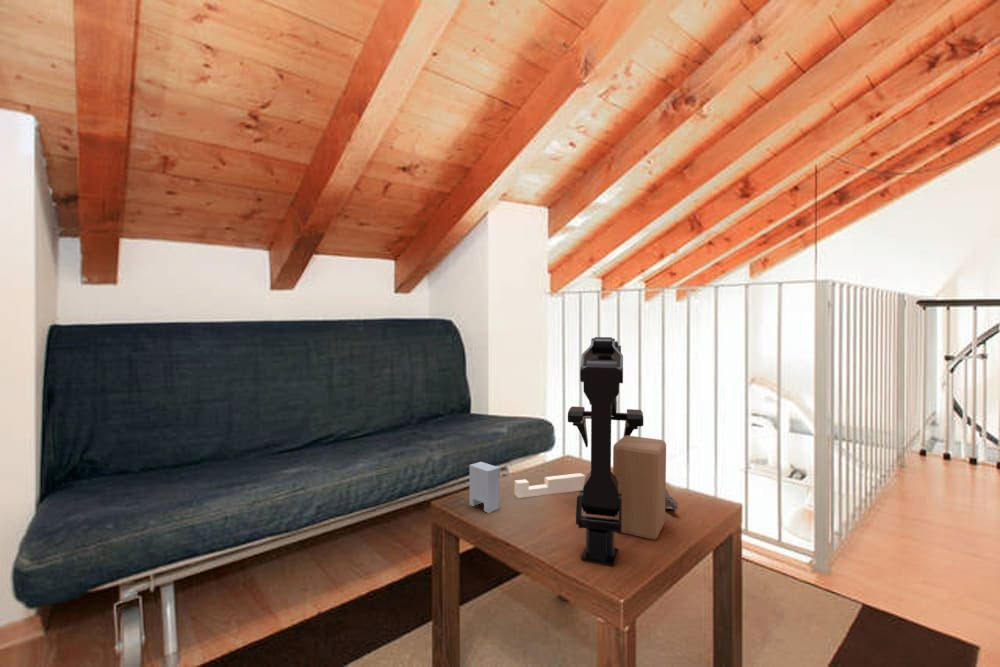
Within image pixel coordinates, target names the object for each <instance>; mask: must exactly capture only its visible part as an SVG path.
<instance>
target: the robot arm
mask: <svg viewBox="0 0 1000 667" xmlns="http://www.w3.org/2000/svg"><path fill="white" fill-rule="evenodd" d="M579 380H580V383H581V382H582V383H583V384H582V385H583V394H584V395H585V396H586V398H587V400H588V402H589V403H588V404H589V405H590V407H591V408H590V410H591V411H589V410H585V406H570V407H569V409H568V412H567V422H568V423H572V426H574V427H577V430H578V431H579V433H580V434H581V437H582V441H583V443H584V445H585V448H588V447H589V439H588V430H587V420H588V419H589V420H590V471H589V472H588V473H587V475H585V481H584V487H583V490H581V491H580V492H579V494H578V496H577V497H576V509H575V524H576V525H577V526H578V529H585V547H584V549H583V551H582V553H581V556H580V560H581V561H586V562H590V563H596V564H600V565H606V566H611V567H614V566H615V563H616V561H617V557H618V554H619V548H617V547H615V545H616V544H615V540H616V539H615V537H616V536H615V535H616V534H615V533H620V534H622V532H621V522H622V494H619V493H618V482H617V478H616V476H615V475H613V471H612V421H625V422H624V423H625V424H624V428H623V429H624V430H623V437H624V436H627V435H628V436H632V435H631V434H632V433H633V432H634V430H638V429H639V428H638V427H644V413H643V411H642V410H641V409H628V408H626V412H617V410H618V400H617V399H618V396H619V394H620V384H624V355H623V354H622V345H619V341H617V340H616V339H615V338H613V337H610V336H609V337H606V336H605V337H602V336H598V337H597V336H594V337H591V340H590V345H589V347H588V348H586V350H584V352H582V354H581V358H580V368H579ZM623 437H622V438H623ZM584 512H585V515H584ZM618 512H619V520H617V519H613V517H615V515H617V514H618ZM587 515H593V516H587ZM597 516H602V517H597ZM604 517H612V518H604Z"/></svg>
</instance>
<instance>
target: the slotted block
mask: <svg viewBox="0 0 1000 667" xmlns="http://www.w3.org/2000/svg"><path fill="white" fill-rule="evenodd" d="M468 467H469V506H470V505H472V506H475V505H477V506H479V505H478V504H480V505H482V504H481V503H483V512H484V511H485V512H487V513H486V514H490V513H492V511H493V512H495V511H497V509H498V510H499V509H500V467H499V466H496V465H492V464H489V463H486V462H483V461H479V462H476V463H472V464H469V466H468ZM472 506H471V507H472ZM475 507H476V506H475ZM494 510H495V511H494ZM485 512H484V513H485Z"/></svg>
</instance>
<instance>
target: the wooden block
mask: <svg viewBox="0 0 1000 667" xmlns="http://www.w3.org/2000/svg"><path fill="white" fill-rule="evenodd" d="M623 436H624V435H623ZM612 450H613V451H612V453H613V454H612V457H613V458H612V473H613V475H615V476H616V478H617V482H618V493H619V494H622V522H621V533H623V534H629V535H631V536H632V535H633V536H637V537H640V538H641V537H642V538H644V539H649V540H657V539H658V537H659V535H660V532H662V529H663V527H664V525H665V523H666V508H665V494H666V489H667V488H666V484H667V483H666V482H667V479H666V478H667V474H666V473H667V472H666V471H667V443H666V441H664V440H663V439H658V438H650V437H644V436H643V437H642V436H635V435H630V436H628V435H627V436H624V437H622V438H620V439H618V441H617V442H615V443H614V444H613V447H612ZM612 519H617V520H619V512H618V514H617V515H615V517H612Z"/></svg>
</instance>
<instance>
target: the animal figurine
mask: <svg viewBox="0 0 1000 667" xmlns="http://www.w3.org/2000/svg"><path fill="white" fill-rule="evenodd" d="M666 509H667V510H668V509H671V510H673V509H675V510H679V508H678V502H677V501H676V499H674V498H673V497H672V496H670V494H669V492H668V490H667V488H666V494H665V510H666Z"/></svg>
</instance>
